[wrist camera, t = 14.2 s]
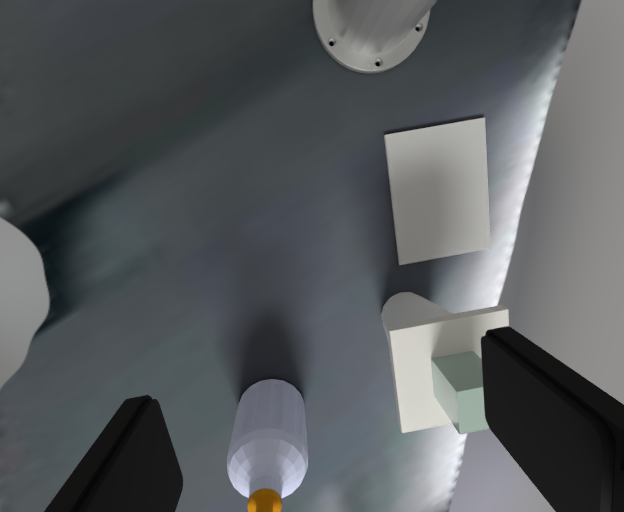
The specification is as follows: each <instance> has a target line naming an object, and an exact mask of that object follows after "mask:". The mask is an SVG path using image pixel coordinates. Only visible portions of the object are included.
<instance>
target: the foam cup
mask: <svg viewBox="0 0 624 512" xmlns="http://www.w3.org/2000/svg"><path fill="white" fill-rule="evenodd" d="M452 314H453V313H451V312H449V311H447V310H445V309H443V308H442V307H440V306H438V305H436V304H434V303H432V302H430V301H429V300H427V299H425V298H423V297H421V296H419V295H417V294H414V293H412V292H400V293H398V294H396V295H394V296H392V297H390V298H389V299H388V301H387V302H386V303H385V304H384V306H383V310H382V313H381V318H382V322H383V326H384V329H385V332H386V336H387V339H388V334H387V326H392V325H398V324H403V323H408V322H414V321H419V320H425V319H430V318H435V317H441V316H446V315H452Z"/></svg>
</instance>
